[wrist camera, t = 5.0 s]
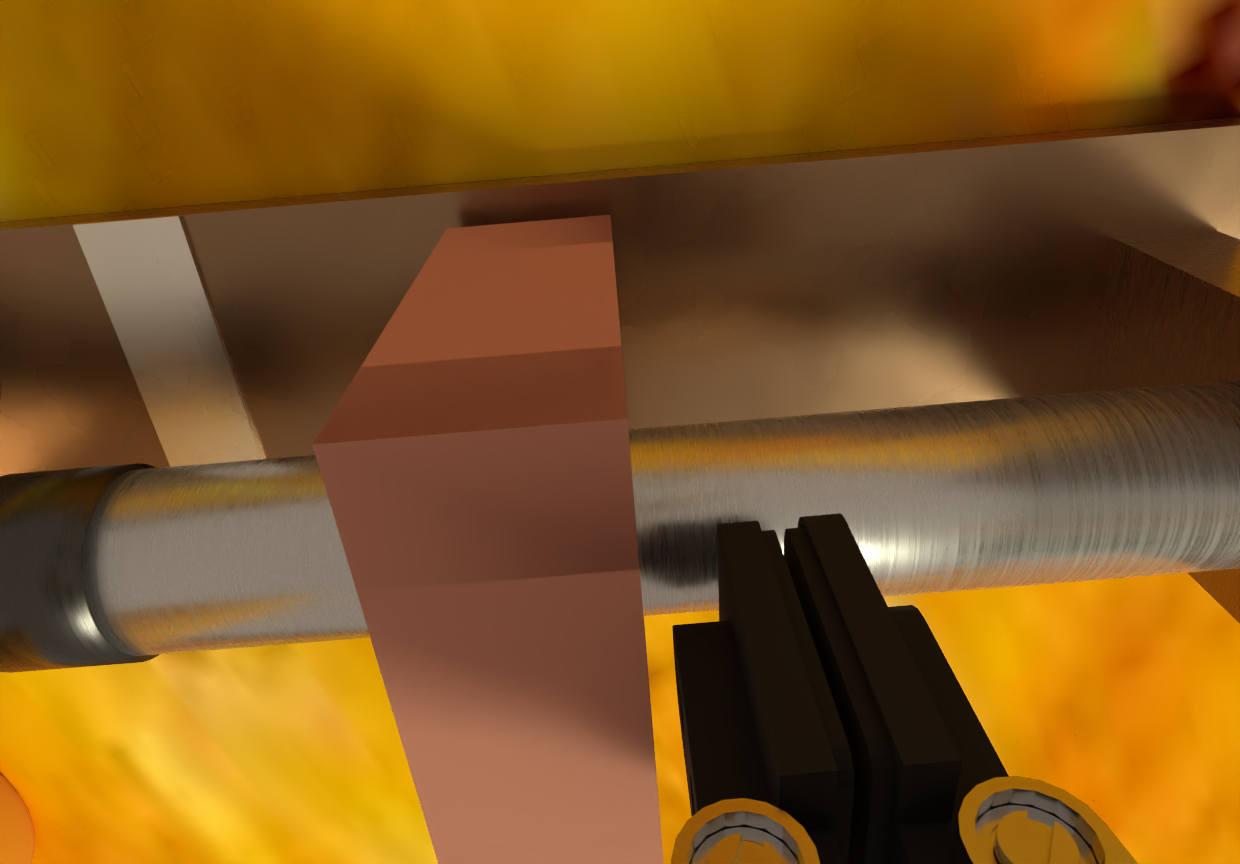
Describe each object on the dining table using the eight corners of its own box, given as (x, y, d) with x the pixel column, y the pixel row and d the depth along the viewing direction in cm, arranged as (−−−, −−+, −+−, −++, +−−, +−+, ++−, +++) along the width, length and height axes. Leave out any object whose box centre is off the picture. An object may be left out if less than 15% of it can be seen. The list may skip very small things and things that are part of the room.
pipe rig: (-328, 249, 16) (-924, 415, 10) (1245, 116, 16) (1682, 197, 9) (-97, 601, 20) (-405, 871, 14) (1136, 501, 20) (1385, 733, 14)
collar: (446, 228, 15) (312, 443, 8) (610, 214, 15) (628, 419, 8) (509, 574, 18) (457, 929, 11) (639, 563, 18) (667, 913, 11)
